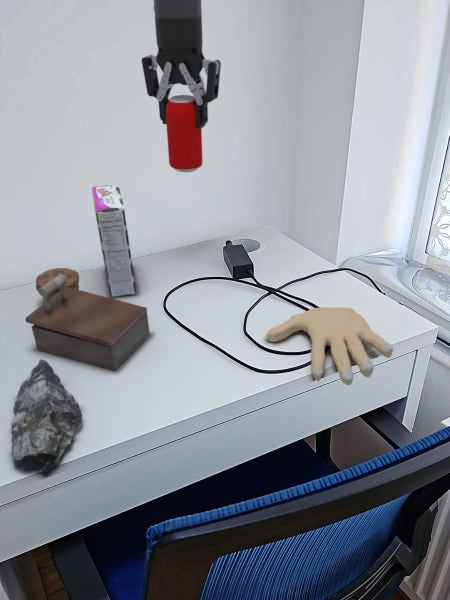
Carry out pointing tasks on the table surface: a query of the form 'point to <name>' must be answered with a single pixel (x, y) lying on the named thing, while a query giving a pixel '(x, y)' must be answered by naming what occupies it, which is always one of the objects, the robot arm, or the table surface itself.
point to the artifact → (48, 275)
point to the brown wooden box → (92, 345)
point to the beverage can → (183, 134)
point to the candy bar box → (114, 239)
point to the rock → (43, 419)
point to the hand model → (335, 339)
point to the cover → (84, 313)
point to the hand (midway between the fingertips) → (183, 124)
